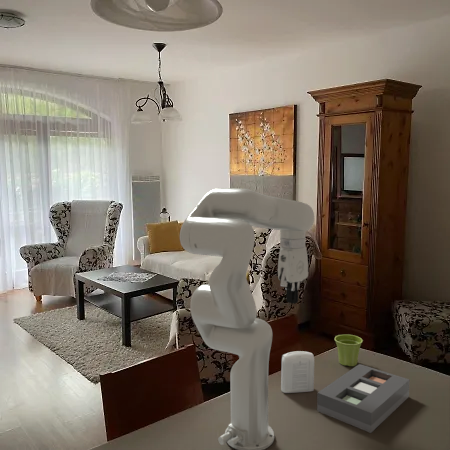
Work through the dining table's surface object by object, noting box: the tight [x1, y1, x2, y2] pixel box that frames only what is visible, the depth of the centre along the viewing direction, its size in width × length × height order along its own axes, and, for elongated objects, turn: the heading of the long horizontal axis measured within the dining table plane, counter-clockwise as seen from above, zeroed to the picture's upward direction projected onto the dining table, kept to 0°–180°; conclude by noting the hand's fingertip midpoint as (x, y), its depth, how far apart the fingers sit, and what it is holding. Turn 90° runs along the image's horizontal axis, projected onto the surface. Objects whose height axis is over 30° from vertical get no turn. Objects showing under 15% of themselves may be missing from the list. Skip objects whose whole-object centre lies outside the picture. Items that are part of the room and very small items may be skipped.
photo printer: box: [280, 350, 315, 394], centre depth 141 cm, size 10×4×12 cm, turn 98°
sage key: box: [342, 396, 361, 405], centre depth 127 cm, size 6×6×2 cm
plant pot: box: [334, 334, 364, 367], centre depth 160 cm, size 9×9×9 cm
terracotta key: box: [369, 376, 386, 384], centre depth 138 cm, size 6×6×2 cm
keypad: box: [316, 363, 411, 434], centre depth 133 cm, size 25×16×6 cm, turn 137°
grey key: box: [353, 382, 377, 394], centre depth 133 cm, size 6×6×2 cm
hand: (292, 302), depth 141 cm, fingers closed
